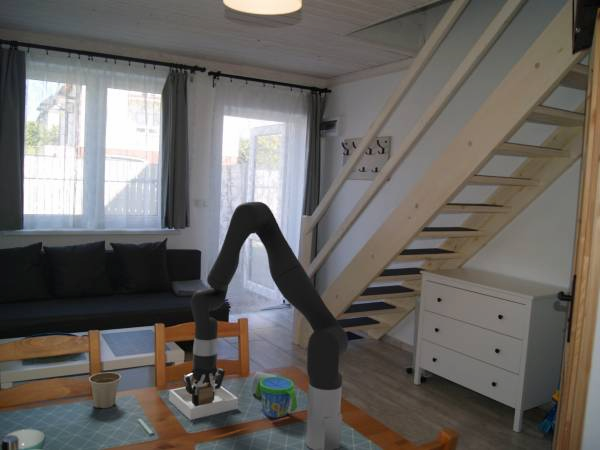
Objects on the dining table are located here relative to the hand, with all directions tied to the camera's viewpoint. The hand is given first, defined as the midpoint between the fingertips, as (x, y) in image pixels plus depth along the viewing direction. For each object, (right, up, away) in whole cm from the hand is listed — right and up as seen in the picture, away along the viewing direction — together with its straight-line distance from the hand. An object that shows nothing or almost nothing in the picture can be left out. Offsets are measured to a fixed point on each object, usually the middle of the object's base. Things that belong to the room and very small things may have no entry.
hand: (202, 403), depth 164 cm
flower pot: (-30, 0, -3) cm, 31 cm away
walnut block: (0, 0, 0) cm, 0 cm away
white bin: (0, -1, 0) cm, 1 cm away
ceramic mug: (+19, -1, +13) cm, 23 cm away
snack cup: (+23, -3, -3) cm, 23 cm away
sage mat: (-10, -1, -13) cm, 17 cm away
